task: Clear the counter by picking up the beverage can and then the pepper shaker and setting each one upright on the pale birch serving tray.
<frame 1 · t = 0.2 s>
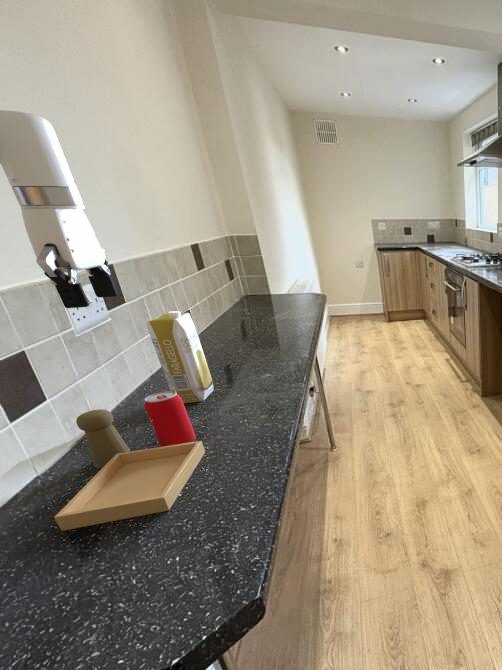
hand: (93, 301, 75), 32 cm above the countertop, tool pointing down, fingers open, 9 cm apart
juice carton: (196, 398, 113), on the countertop
tray: (143, 485, 77), on the countertop
pepper shaker: (113, 460, 85), on the countertop
beverage can: (180, 445, 90), on the countertop
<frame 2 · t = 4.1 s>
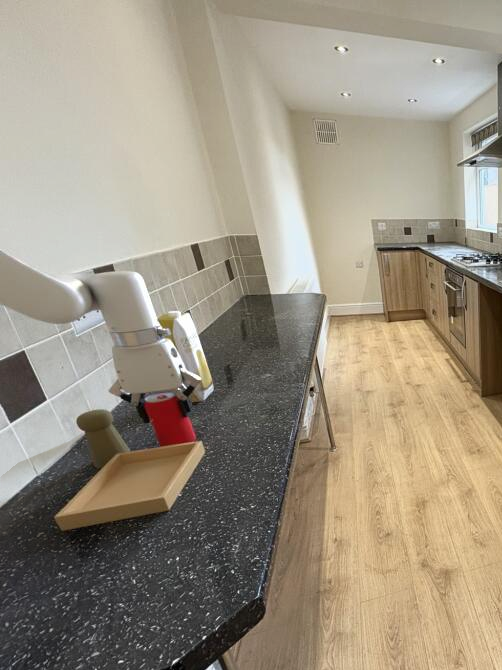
hand: (168, 416, 87), 7 cm above the countertop, tool pointing down, fingers closed on beverage can, 6 cm apart
beverage can: (180, 445, 90), on the countertop, touching gripper
everything else where it was.
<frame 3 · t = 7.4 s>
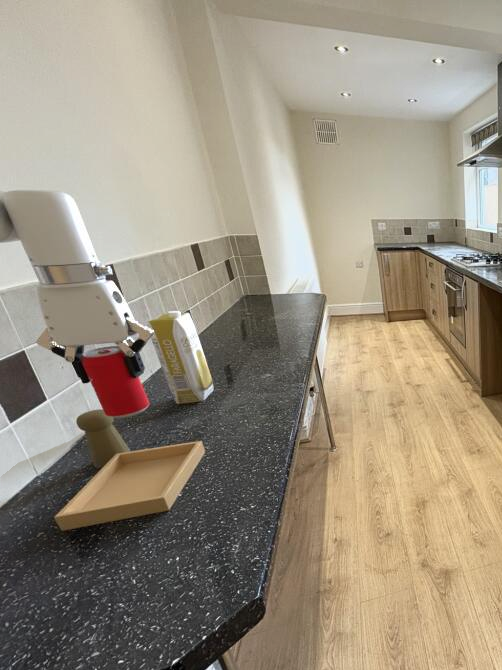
hand: (114, 377, 73), 20 cm above the countertop, tool pointing down, fingers closed on beverage can, 6 cm apart
beverage can: (129, 413, 76), point 13 cm above the countertop, touching gripper
everything else where it was.
when the fingers open (8 cm above the countertop, at t = 10.7 s): beverage can stays where it is, resting on tray.
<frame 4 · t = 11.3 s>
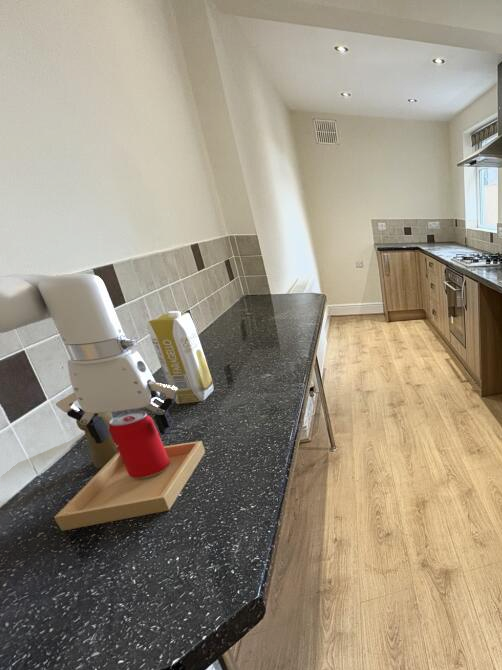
hand: (135, 435, 77), 9 cm above the countertop, tool pointing down, fingers open, 9 cm apart
beverage can: (151, 472, 80), resting on tray
everything else where it was.
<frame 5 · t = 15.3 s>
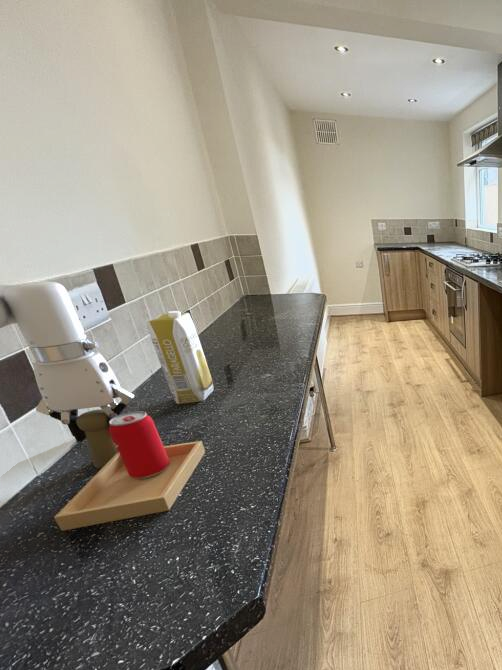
hand: (102, 435, 83), 6 cm above the countertop, tool pointing down, fingers closed on pepper shaker, 5 cm apart
pepper shaker: (113, 460, 85), on the countertop, touching gripper
everything else where it was.
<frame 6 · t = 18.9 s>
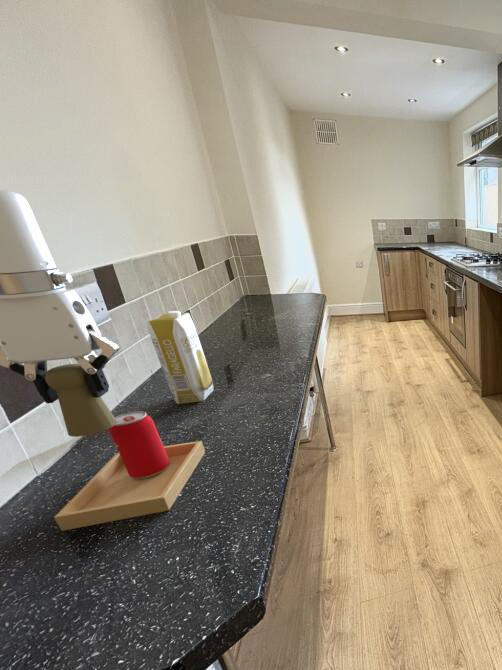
hand: (78, 396, 66), 20 cm above the countertop, tool pointing down, fingers closed on pepper shaker, 5 cm apart
pepper shaker: (93, 428, 69), point 14 cm above the countertop, touching gripper
everything else where it was.
when the fingers open (6 cm above the countertop, at t = 22.4 s): pepper shaker stays where it is, resting on tray.
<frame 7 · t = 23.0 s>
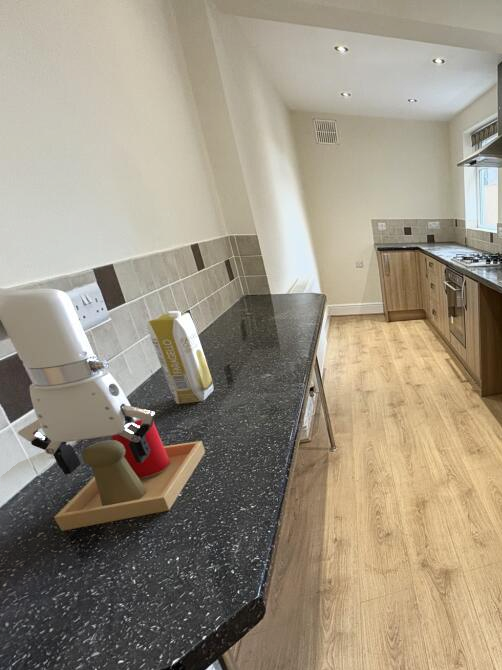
hand: (109, 464, 70), 8 cm above the countertop, tool pointing down, fingers open, 9 cm apart
pepper shaker: (125, 498, 73), resting on tray
everything else where it was.
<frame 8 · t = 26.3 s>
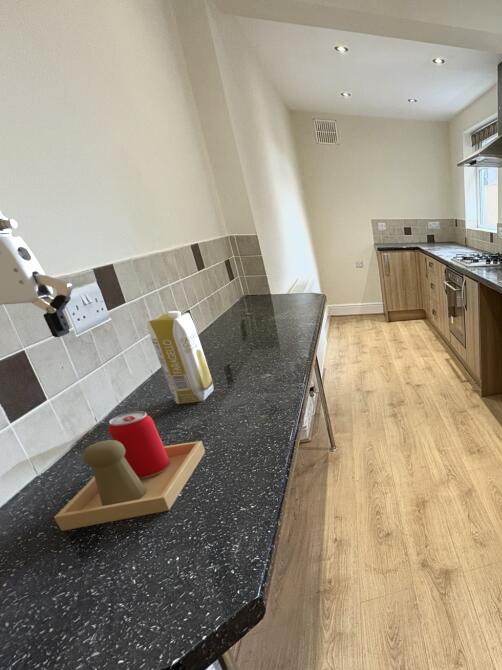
hand: (24, 338, 68), 28 cm above the countertop, tool pointing down, fingers open, 9 cm apart
nothing on the countertop moved.
at the end: beverage can inside the target area in the tray (4.0 cm from its centre), point 0.4 cm above the tray's base; pepper shaker inside the target area in the tray (4.1 cm from its centre), point 0.4 cm above the tray's base; beverage can tilted 0° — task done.
